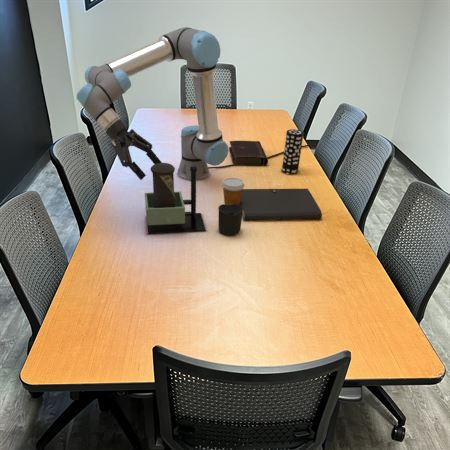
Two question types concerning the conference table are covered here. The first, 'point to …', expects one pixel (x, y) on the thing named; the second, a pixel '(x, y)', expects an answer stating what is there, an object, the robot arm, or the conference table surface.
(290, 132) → the white-spotted black cylinder
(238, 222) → the pen holder
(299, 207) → the file folder
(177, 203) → the green box on stand
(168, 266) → the conference table surface
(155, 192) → the container
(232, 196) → the disposable coffee cup
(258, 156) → the diary
